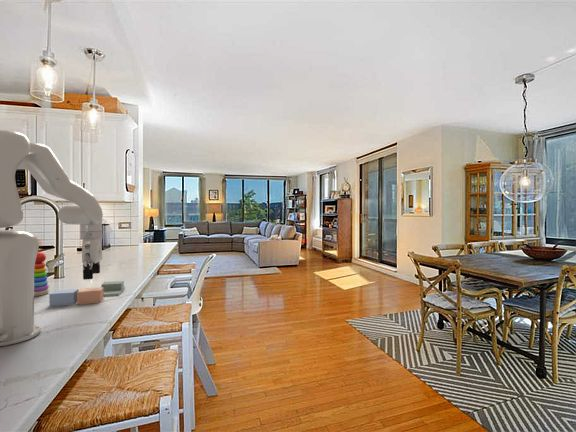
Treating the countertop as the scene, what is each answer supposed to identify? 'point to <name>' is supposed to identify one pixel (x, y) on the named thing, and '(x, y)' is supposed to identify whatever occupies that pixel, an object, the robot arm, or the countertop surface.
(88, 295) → the terracotta brick
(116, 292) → the build plate
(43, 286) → the stacking toy
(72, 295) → the slate brick
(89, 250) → the robot arm
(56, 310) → the countertop surface
